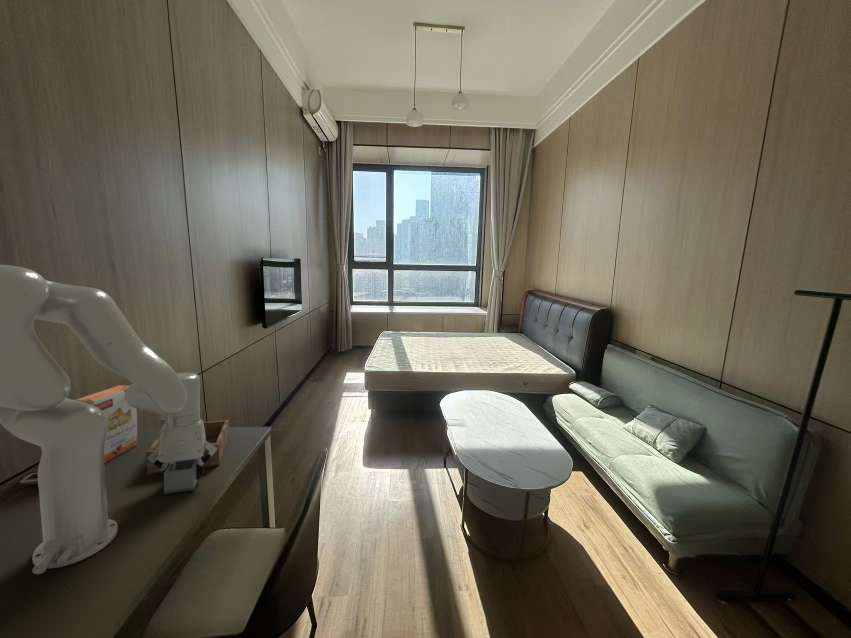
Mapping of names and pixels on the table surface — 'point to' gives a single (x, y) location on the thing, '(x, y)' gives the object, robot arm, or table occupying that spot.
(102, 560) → the table surface
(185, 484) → the small crate
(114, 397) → the cracker box
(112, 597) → the table surface
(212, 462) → the big crate
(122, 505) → the table surface
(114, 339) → the robot arm
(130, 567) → the table surface
